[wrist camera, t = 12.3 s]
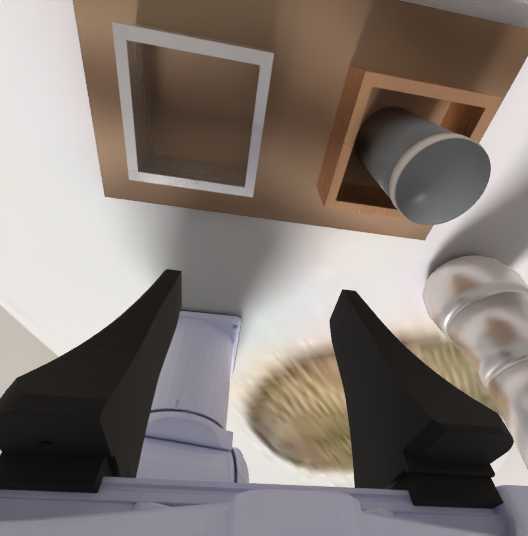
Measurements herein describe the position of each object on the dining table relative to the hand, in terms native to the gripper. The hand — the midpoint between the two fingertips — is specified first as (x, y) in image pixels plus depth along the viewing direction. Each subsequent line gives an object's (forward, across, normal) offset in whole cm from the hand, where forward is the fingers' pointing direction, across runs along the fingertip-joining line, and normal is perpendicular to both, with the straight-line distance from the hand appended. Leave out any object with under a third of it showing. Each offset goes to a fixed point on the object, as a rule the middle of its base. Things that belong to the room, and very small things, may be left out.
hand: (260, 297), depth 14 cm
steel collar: (+8, +4, -5) cm, 11 cm away
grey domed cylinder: (+8, -6, -6) cm, 12 cm away
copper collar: (+9, -6, -6) cm, 13 cm away
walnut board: (+9, -1, -6) cm, 11 cm away
